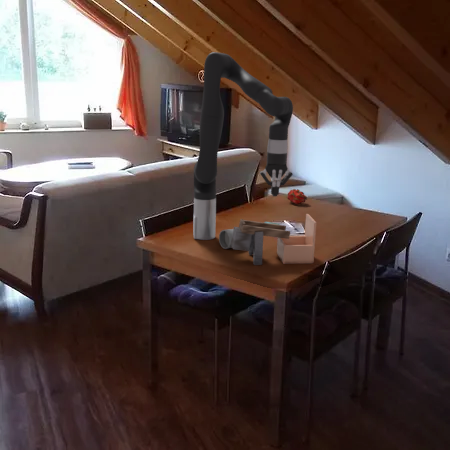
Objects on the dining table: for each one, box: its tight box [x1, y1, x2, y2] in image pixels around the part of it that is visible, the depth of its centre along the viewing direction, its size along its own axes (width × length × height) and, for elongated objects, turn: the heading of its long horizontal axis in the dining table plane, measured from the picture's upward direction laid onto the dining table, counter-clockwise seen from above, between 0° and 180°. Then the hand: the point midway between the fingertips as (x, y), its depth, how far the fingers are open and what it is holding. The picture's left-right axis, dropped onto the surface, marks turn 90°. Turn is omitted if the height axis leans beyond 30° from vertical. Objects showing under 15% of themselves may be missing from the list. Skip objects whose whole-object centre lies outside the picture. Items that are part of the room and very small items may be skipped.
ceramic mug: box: [218, 228, 234, 250], centre depth 224 cm, size 11×8×8 cm
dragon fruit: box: [286, 188, 308, 206], centre depth 293 cm, size 8×8×12 cm
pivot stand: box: [247, 231, 264, 266], centre depth 209 cm, size 3×13×12 cm, turn 7°
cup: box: [276, 213, 317, 265], centre depth 211 cm, size 12×12×16 cm
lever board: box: [231, 218, 291, 252], centre depth 212 cm, size 20×16×10 cm
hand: (274, 195), depth 213 cm, fingers closed
